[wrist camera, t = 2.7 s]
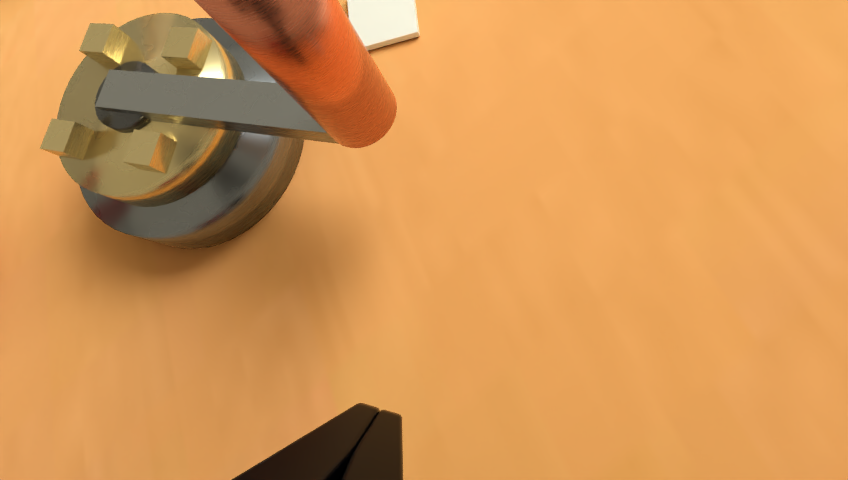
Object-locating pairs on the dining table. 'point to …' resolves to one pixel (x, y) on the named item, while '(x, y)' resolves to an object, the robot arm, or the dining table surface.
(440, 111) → the dining table surface
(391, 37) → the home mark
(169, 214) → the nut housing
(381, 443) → the robot arm
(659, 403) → the dining table surface
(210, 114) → the copper crank handle
